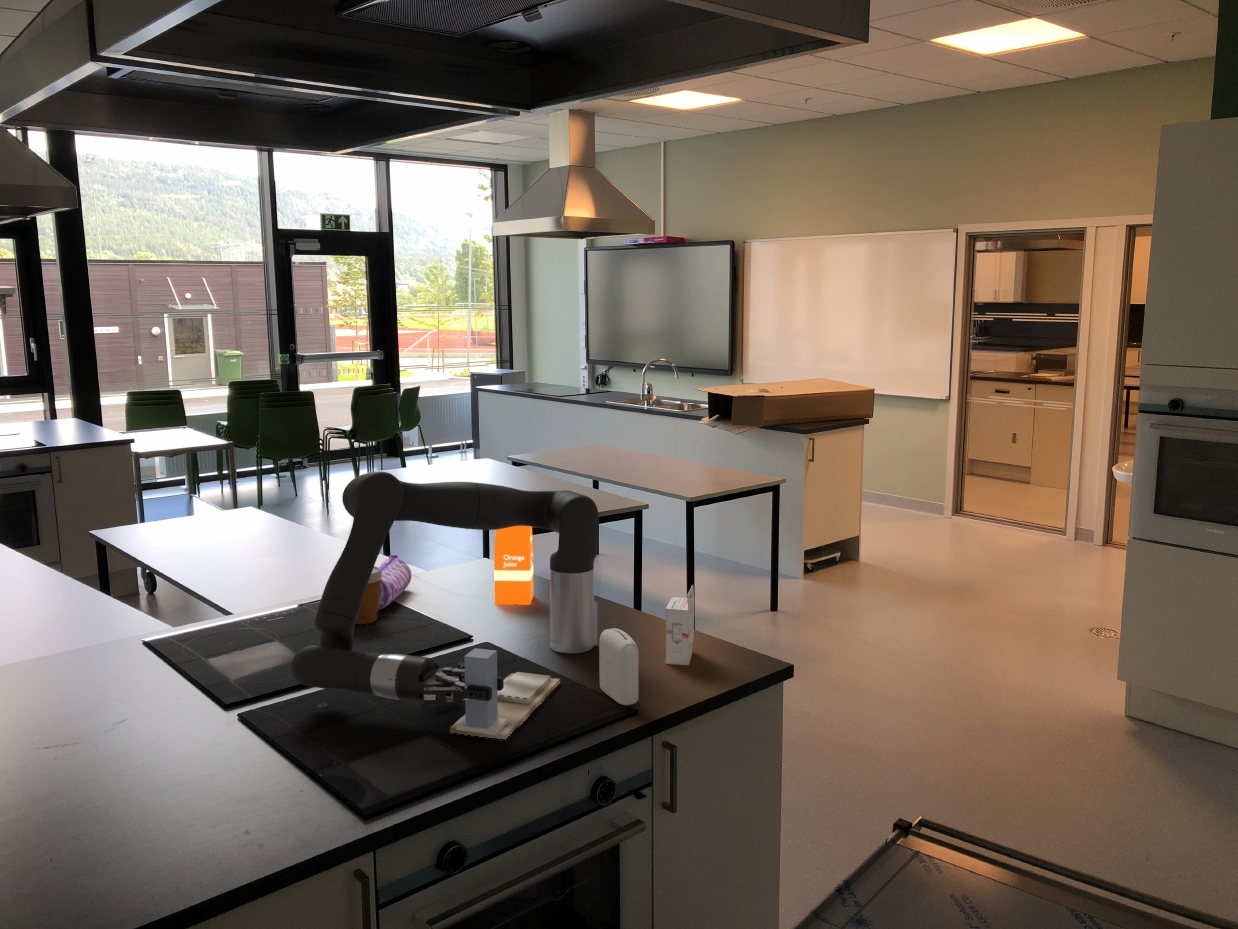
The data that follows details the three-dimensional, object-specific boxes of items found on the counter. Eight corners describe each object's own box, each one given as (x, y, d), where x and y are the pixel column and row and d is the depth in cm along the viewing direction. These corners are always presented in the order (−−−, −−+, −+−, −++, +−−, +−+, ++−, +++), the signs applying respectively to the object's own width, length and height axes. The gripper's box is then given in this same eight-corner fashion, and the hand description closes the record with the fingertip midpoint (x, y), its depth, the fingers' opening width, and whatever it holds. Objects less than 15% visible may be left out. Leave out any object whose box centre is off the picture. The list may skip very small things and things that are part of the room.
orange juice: (530, 604, 228) (529, 524, 226) (494, 604, 229) (493, 524, 226) (533, 595, 236) (533, 518, 233) (498, 595, 236) (498, 517, 233)
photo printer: (596, 688, 176) (596, 624, 174) (616, 684, 178) (617, 621, 176) (620, 708, 167) (620, 641, 165) (641, 704, 169) (642, 638, 167)
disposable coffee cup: (392, 619, 217) (391, 568, 215) (361, 630, 209) (359, 578, 207) (364, 612, 222) (362, 563, 220) (332, 622, 214) (330, 571, 212)
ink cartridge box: (670, 650, 197) (671, 582, 195) (694, 652, 196) (695, 583, 194) (664, 664, 189) (665, 593, 186) (688, 666, 188) (690, 595, 185)
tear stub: (469, 717, 159) (468, 646, 157) (507, 723, 157) (506, 650, 155) (456, 729, 155) (454, 656, 153) (495, 735, 153) (494, 660, 151)
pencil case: (378, 588, 242) (377, 552, 241) (414, 588, 242) (413, 553, 241) (353, 614, 220) (352, 575, 219) (392, 614, 220) (391, 575, 219)
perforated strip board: (511, 678, 181) (511, 668, 180) (560, 684, 178) (560, 674, 177) (450, 733, 156) (450, 722, 156) (505, 741, 153) (505, 730, 153)
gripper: (381, 670, 152) (478, 682, 147) (423, 643, 165) (513, 653, 160) (383, 714, 153) (479, 728, 148) (424, 683, 166) (514, 694, 161)
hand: (496, 689), depth 154 cm, fingers closed on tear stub, 4 cm apart
